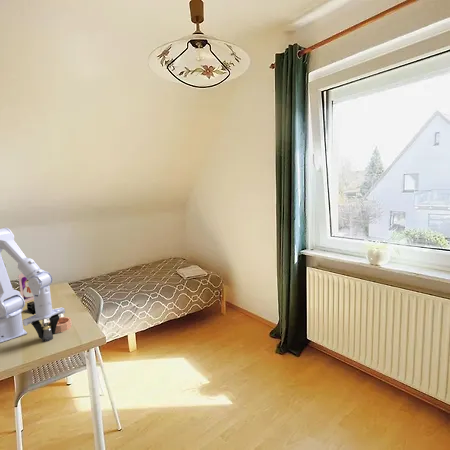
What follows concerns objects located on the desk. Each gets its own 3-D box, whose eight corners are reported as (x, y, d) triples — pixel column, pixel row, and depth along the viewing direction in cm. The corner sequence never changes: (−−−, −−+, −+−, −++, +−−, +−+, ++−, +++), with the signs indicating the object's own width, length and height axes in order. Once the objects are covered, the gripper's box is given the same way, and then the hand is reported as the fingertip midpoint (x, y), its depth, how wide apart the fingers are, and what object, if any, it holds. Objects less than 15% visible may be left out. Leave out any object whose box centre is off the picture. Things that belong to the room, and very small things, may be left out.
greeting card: (23, 303, 163) (19, 275, 160) (14, 301, 166) (10, 274, 163) (43, 295, 173) (40, 269, 171) (34, 294, 176) (31, 268, 174)
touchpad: (44, 325, 139) (43, 320, 138) (44, 313, 152) (43, 308, 151) (64, 321, 142) (63, 316, 142) (62, 309, 155) (62, 305, 155)
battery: (43, 342, 123) (41, 327, 122) (40, 339, 126) (38, 323, 125) (54, 338, 126) (52, 323, 125) (51, 335, 129) (49, 320, 128)
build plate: (18, 312, 154) (17, 303, 153) (33, 306, 160) (32, 298, 159) (33, 317, 148) (32, 307, 147) (48, 311, 154) (47, 302, 153)
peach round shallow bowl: (53, 335, 129) (52, 328, 128) (45, 328, 135) (44, 322, 134) (74, 327, 135) (74, 320, 135) (66, 321, 141) (66, 315, 140)
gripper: (25, 312, 115) (29, 346, 118) (66, 300, 126) (69, 332, 128) (19, 307, 120) (23, 340, 122) (59, 296, 131) (63, 326, 133)
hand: (47, 335), depth 126 cm, fingers closed on battery, 4 cm apart
